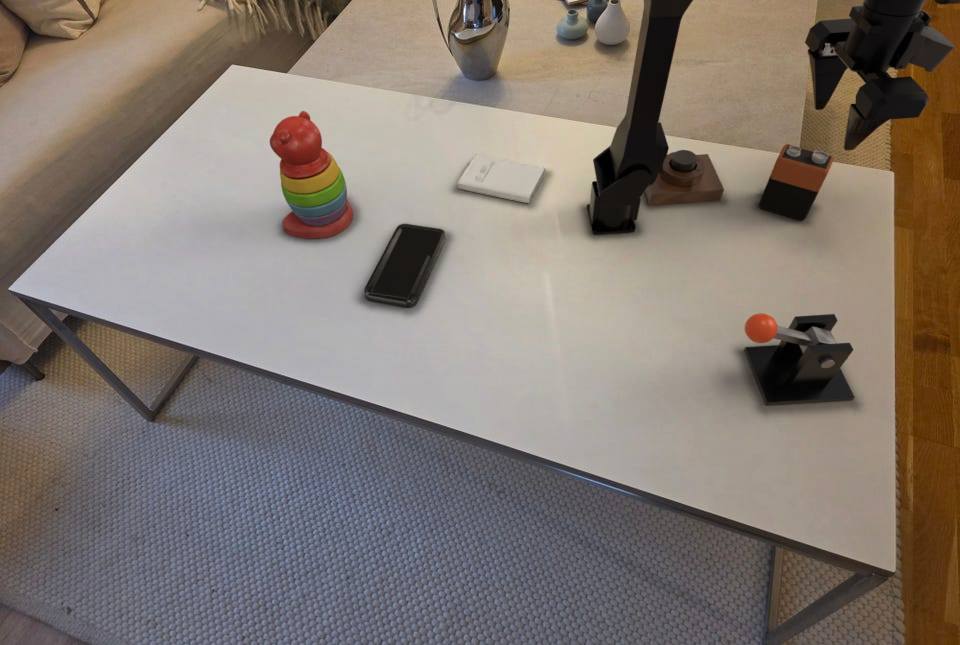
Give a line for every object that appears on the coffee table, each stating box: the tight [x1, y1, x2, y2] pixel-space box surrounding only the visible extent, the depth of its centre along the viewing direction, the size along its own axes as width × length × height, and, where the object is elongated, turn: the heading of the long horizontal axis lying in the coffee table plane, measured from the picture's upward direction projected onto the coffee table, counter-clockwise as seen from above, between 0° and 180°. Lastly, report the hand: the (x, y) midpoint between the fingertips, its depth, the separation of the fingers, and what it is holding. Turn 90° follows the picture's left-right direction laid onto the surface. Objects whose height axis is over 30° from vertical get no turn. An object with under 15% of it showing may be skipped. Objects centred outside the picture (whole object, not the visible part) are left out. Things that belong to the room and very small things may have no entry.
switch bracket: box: [743, 313, 856, 407], centre depth 67 cm, size 10×8×9 cm
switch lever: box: [744, 312, 838, 353], centre depth 64 cm, size 11×3×3 cm, turn 91°
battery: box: [758, 143, 835, 221], centre depth 85 cm, size 4×7×10 cm, turn 58°
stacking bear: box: [269, 110, 354, 239], centre depth 87 cm, size 11×10×18 cm
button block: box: [644, 151, 725, 206], centre depth 92 cm, size 11×9×4 cm
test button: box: [671, 149, 697, 173], centre depth 90 cm, size 4×4×2 cm
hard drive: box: [457, 154, 546, 204], centre depth 97 cm, size 2×8×12 cm
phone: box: [363, 223, 447, 308], centre depth 86 cm, size 8×1×15 cm
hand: (833, 128), depth 77 cm, fingers open, 9 cm apart
